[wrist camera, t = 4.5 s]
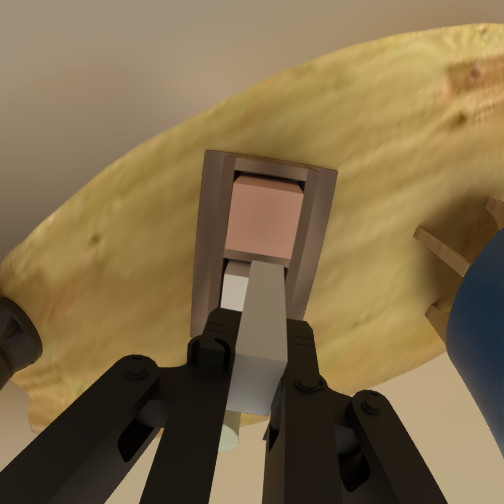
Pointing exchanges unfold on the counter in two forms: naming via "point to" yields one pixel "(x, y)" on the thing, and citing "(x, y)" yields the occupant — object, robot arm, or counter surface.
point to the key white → (235, 284)
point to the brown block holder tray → (217, 257)
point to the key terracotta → (264, 215)
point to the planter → (476, 320)
